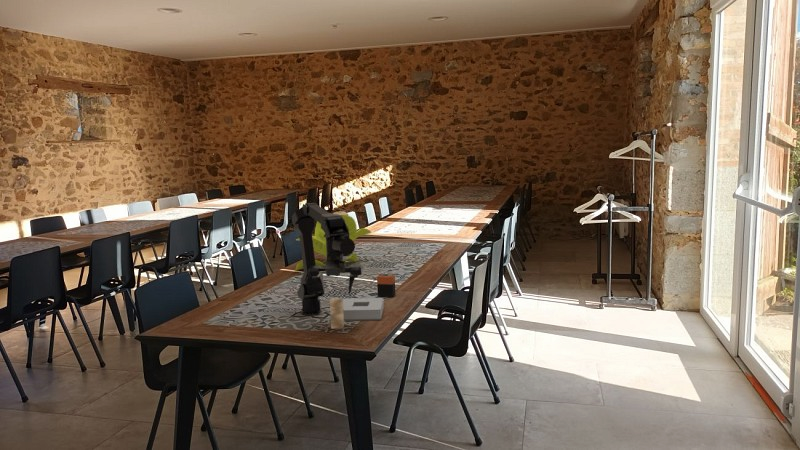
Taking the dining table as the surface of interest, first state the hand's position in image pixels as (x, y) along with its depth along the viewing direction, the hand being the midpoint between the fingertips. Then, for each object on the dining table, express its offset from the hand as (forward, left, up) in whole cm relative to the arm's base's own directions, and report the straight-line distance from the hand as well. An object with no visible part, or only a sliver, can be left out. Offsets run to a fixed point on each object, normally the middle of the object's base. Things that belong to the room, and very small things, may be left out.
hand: (336, 294), depth 221 cm
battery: (+15, +41, -12) cm, 45 cm away
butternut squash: (-17, +135, -12) cm, 136 cm away
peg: (0, 0, -12) cm, 12 cm away
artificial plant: (-17, +100, -12) cm, 102 cm away
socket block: (+7, +15, -12) cm, 20 cm away
